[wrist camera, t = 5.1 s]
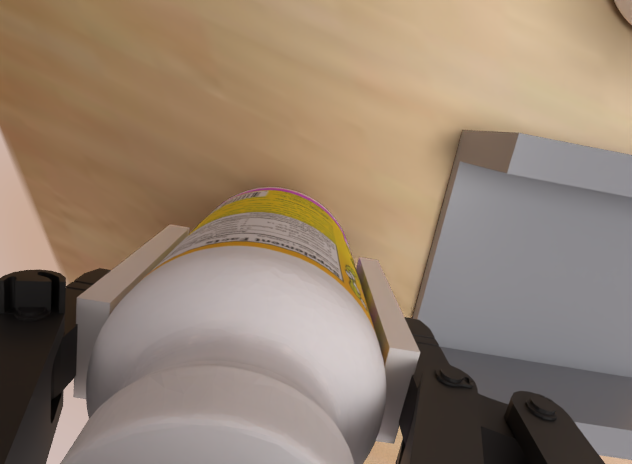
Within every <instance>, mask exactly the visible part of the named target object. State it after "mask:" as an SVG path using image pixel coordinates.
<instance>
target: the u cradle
mask: <svg viewBox="0 0 632 464" xmlns="http://www.w3.org/2000/svg"><path fill="white" fill-rule="evenodd" d="M412 319H418V320H420V321H422V322H423V323H424V324H425V325H426V326H427V327H429V328H430V330H431V331H432V333H433V335H434V337H435V339H436V341H437V342H438V344H439V347H440V348H441V350H442V351H443V353H444V355H445V357H446V359H447V360H448V362H449V364H450V365H451V366H454V367H456V368H458V369H460V370H462V371H463V372H465V373H466V374H468V375H469V376H470V377H471V378H472V379H473V380H474V381H475V383H476V386H477V389H478V393H479V394H481V395H483V396H486V397H488V398H491V399H494V400H497V401H500V402H503V403H506V404H509V402H510V399H511V397H512V395H513V393H514V392H518V391H528V392H532V393H536V394H541V395H543V396H545V398H546V397H547V398H549V399H551V400H552V401H553V402H554V403H556V404H557V405H559V406H560V407H562V408H563V409H564V410H565V411H566V412H567V413H568V415H569V416H570V417H571V418H572V420H573V421H574V422H575V424H576V425H577V426H578V428H579V429H580V430H581V432H582V433H583V435H584V436H585V437H586V439H587V440H588V441H589V443H590V444H591V445H592V447H593V448H594V449H595V451H596V452H597V454H598V455H602V456H609V457H616V458H622V459H629V460H632V155H629V154H623V153H618V152H613V151H608V150H603V149H598V148H593V147H588V146H583V145H578V144H573V143H568V142H562V141H557V140H552V139H547V138H542V137H537V136H532V135H527V134H522V133H509V132H489V131H469V130H463V131H462V134H461V138H460V142H459V146H458V149H457V153H456V157H455V161H454V164H453V168H452V172H451V176H450V179H449V183H448V187H447V190H446V194H445V198H444V202H443V205H442V209H441V213H440V217H439V220H438V224H437V228H436V232H435V235H434V239H433V243H432V247H431V250H430V254H429V258H428V261H427V265H426V269H425V273H424V276H423V280H422V284H421V288H420V291H419V295H418V299H417V303H416V306H415V310H414V314H413V318H412Z"/></svg>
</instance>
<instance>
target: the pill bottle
mask: <svg viewBox="0 0 632 464" xmlns="http://www.w3.org/2000/svg"><path fill="white" fill-rule="evenodd" d="M614 2H615V4H616V6H617V8H618V9H619V11H620V12H621V14H622V15H623V17H624V18H625V19H626V20H627V21H628V22H629V23H630V24H631V25H632V0H614Z"/></svg>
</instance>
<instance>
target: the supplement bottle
mask: <svg viewBox="0 0 632 464" xmlns="http://www.w3.org/2000/svg"><path fill="white" fill-rule="evenodd" d="M86 401H87V410H88V416H89V420H88V422H87V423H86V425H85V427H84V428H83V430H82V431H81V433H80V434H79V436H78V438H77V439H76V441H75V442H74V444H73V445H72V447H71V448H70V450H69V451H68V453H67V454H66V456H65V457H64V459H63V460H62V462H61V463H60V464H363V463H364V461H365V460H366V458H367V456H368V455H369V453H370V451H371V449H372V447H373V445H374V443H375V441H376V439H377V436H378V434H379V431H380V427H381V424H382V420H383V415H384V410H385V405H386V374H385V367H384V362H383V357H382V353H381V350H380V346H379V342H378V339H377V336H376V333H375V330H374V326H373V323H372V319H371V316H370V313H369V310H368V307H367V304H366V300H365V297H364V294H363V291H362V287H361V284H360V281H359V277H358V274H357V271H356V268H355V264H354V261H353V258H352V254H351V251H350V248H349V245H348V242H347V240H346V237H345V234H344V232H343V230H342V228H341V227H340V225H339V223H338V222H337V220H336V219H335V218H334V216H333V215H332V214H331V213H330V212H329V211H328V210H327V209H326V208H325V207H324V206H323V205H322V204H320V203H319V202H317V201H316V200H314V199H313V198H311V197H309V196H307V195H305V194H303V193H300V192H297V191H294V190H290V189H286V188H280V187H262V188H256V189H251V190H247V191H244V192H242V193H239V194H237V195H235V196H233V197H231V198H229V199H228V200H226V201H225V202H223V203H222V204H221V205H219V206H218V207H217V208H216V209H214V210H213V211H212V212H211V213H210V214H209V215H208V216H207V217H206V218H205V219H204V220H203V221H202V222H201V223H200V224H199V225H198V226H197V227H196V228H195V229H194V230H193V231H192V232H191V233H190V234H189V235H188V236H187V237H186V238H185V239H184V240H183V241H182V242H181V243H180V244H179V245H178V246H176V247H175V248H174V249H173V250H172V251H171V252H170V253H169V254H168V255H167V256H166V257H165V258H164V259H163V260H162V261H161V262H160V263H159V264H158V265H157V266H156V267H155V268H154V269H153V270H151V271H150V272H149V273H148V274H147V275H146V276H145V277H144V278H143V279H142V280H141V281H140V282H139V283H138V284H137V285H136V286H135V287H134V288H133V289H132V290H131V291H130V292H129V293H128V294H127V295H126V296H125V297H124V298H123V299H122V300H121V301H120V302H119V304H118V305H117V306H116V307H115V308H114V310H113V311H112V313H111V314H110V316H109V317H108V319H107V320H106V322H105V324H104V325H103V327H102V329H101V331H100V333H99V335H98V337H97V340H96V342H95V344H94V347H93V350H92V353H91V357H90V361H89V365H88V370H87V378H86Z"/></svg>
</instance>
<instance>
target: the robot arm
mask: <svg viewBox="0 0 632 464" xmlns="http://www.w3.org/2000/svg"><path fill="white" fill-rule="evenodd" d="M189 230H190V228H189V227H183V226H177V225H172V224H170V225H168V226H167V227H166V228H164V229H163V230H162V231H161V232H159V233H158V234H157V235H156V236H154V237H153V238H152V239H151V240H149V241H148V242H147V243H145V244H144V245H143V246H142V247H140V248H139V249H138V250H137V251H135V252H134V253H133V254H131V255H130V256H129V257H128V258H126V259H125V260H124V261H123V262H121V263H120V264H119V265H117V266H116V267H115V268H114V269H112V270H107V269H101V268H99V269H96V270H93V271H90V272H87V273H84V274H83V275H82V276H80V277H79V278H77V279H76V280H75V281H74V282H72V283H70V284H69V285H67V286H66V278H65V277H64V276H63V275H62V274H60V273H57V272H53V271H47V270H25V271H19V272H13V273H10V274H8V275H5V276H3V277H1V278H0V464H46V461H47V458H48V454H49V451H50V448H51V444H52V441H53V437H54V434H55V430H56V427H57V423H58V421H59V417H60V414H61V410H62V407H63V390H64V389H65V387H66V386H67V385H68V384H69V383H70V382H71V381H72V380H73V378H74V397H76V398H83V399H86V378H87V370H88V365H89V361H90V357H91V353H92V350H93V347H94V344H95V342H96V340H97V337H98V335H99V333H100V331H101V329H102V327H103V325H104V324H105V322H106V320H107V319H108V317H109V316H110V314H111V313H112V311H113V310H114V308H115V307H116V306H117V305H118V304H119V302H120V301H121V300H122V299H123V298H124V297H125V296H126V295H127V294H128V293H129V292H130V291H131V290H132V289H133V288H134V287H135V286H136V285H137V284H138V283H139V282H140V281H141V280H142V279H143V278H144V277H145V276H146V275H147V274H148V273H149V272H150V271H151V270H153V269H154V268H155V267H156V266H157V265H158V264H159V263H160V262H161V261H162V260H163V259H164V258H165V257H166V256H167V255H168V254H169V253H170V252H171V251H172V250H173V249H174V248H175V247H176V246H178V245H179V244H180V243H181V242H182V241H183V240H184V239H185V238H186V237H187V236H188V235H189ZM356 271H357V274H358V277H359V281H360V284H361V287H362V291H363V294H364V297H365V300H366V304H367V307H368V310H369V313H370V316H371V319H372V323H373V326H374V330H375V333H376V336H377V339H378V342H379V346H380V350H381V353H382V357H383V362H384V367H385V374H386V405H385V410H384V415H383V420H382V424H381V427H380V431H379V434H378V436H377V439H376V441H379V442H386V443H393V444H394V442H395V438H396V435H397V432H398V428H399V425H400V429H401V432H402V436H403V440H402V443H401V447H400V450H399V454H398V457H397V460H396V464H605V463H604V462H603V460H602V459H601V458H600V456H599V455H598V454H597V452H596V451H595V449H594V448H593V447H592V445H591V444H590V443H589V441H588V440H587V439H586V437H585V436H584V435H583V433H582V432H581V430H580V429H579V428H578V426H577V425H576V424H575V422H574V421H573V420H572V418H571V417H570V416H569V415H568V413H567V412H566V411H565V410H564V409H563V408H562V407H560V406H559V405H557V404H556V403H554V402H553V401H552V400H551V399H549V398H547V397H546V398H545V396H543V395H541V394H536V393H532V392H528V391H518V392H514V393H513V395H512V397H511V399H510V402H509V404H506V403H503V402H500V401H497V400H494V399H491V398H488V397H486V396H483V395H481V394H479V393H478V389H477V386H476V383H475V381H474V380H473V379H472V378H471V377H470V376H469V375H468V374H466V373H465V372H463V371H462V370H460V369H458V368H456V367H454V366H451V365H450V364H449V362H448V360H447V359H446V357H445V355H444V353H443V351H442V350H441V348H440V347H439V344H438V342H437V341H436V339H435V337H434V335H433V333H432V331H431V330H430V328H429V327H427V326H426V325H425V324H424V323H423V322H422V321H420V320H418V319H412V318H406V317H404V316H403V314H402V311H401V309H400V307H399V305H398V303H397V300H396V298H395V296H394V294H393V292H392V290H391V287H390V285H389V283H388V281H387V279H386V276H385V274H384V272H383V270H382V268H381V266H380V263H379V261H378V260H374V259H368V258H363V257H359V260H358V265H357V269H356Z"/></svg>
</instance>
